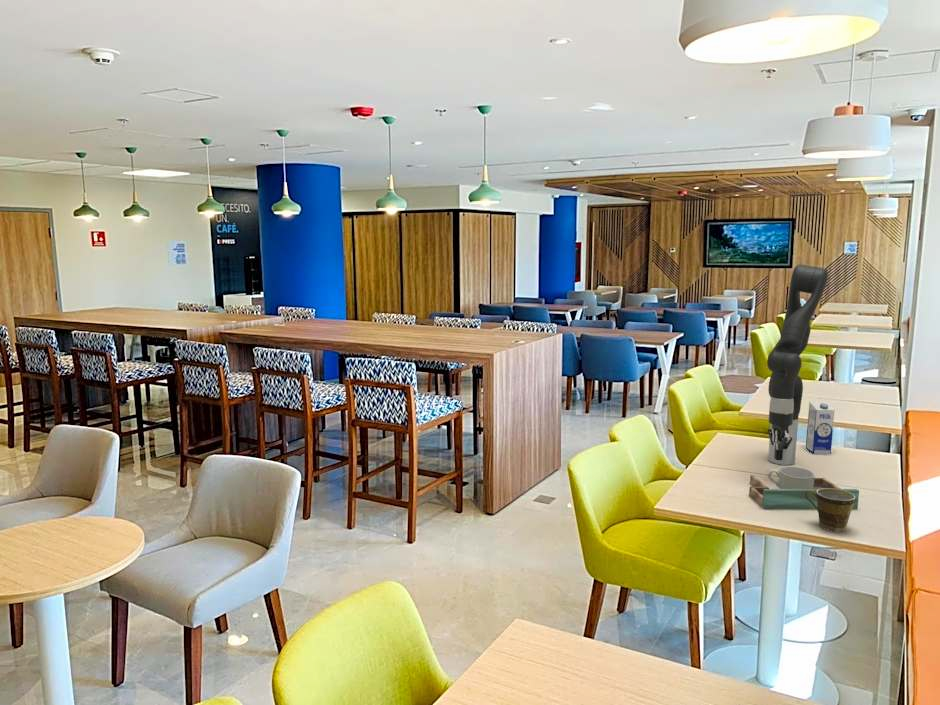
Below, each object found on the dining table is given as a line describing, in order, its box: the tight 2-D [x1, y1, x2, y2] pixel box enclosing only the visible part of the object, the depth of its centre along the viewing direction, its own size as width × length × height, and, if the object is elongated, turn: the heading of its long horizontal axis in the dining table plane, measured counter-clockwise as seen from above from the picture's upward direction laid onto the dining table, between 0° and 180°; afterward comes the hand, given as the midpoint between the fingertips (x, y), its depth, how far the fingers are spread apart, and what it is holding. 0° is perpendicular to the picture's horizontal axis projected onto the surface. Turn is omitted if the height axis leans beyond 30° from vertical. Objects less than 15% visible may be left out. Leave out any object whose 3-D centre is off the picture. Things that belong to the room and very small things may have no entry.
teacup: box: [767, 465, 816, 489], centre depth 225 cm, size 14×11×8 cm
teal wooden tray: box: [748, 474, 860, 510], centre depth 223 cm, size 23×29×6 cm
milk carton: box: [805, 401, 835, 455], centre depth 269 cm, size 7×7×20 cm
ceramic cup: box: [805, 488, 855, 532], centre depth 199 cm, size 13×10×10 cm
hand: (778, 459), depth 235 cm, fingers closed
